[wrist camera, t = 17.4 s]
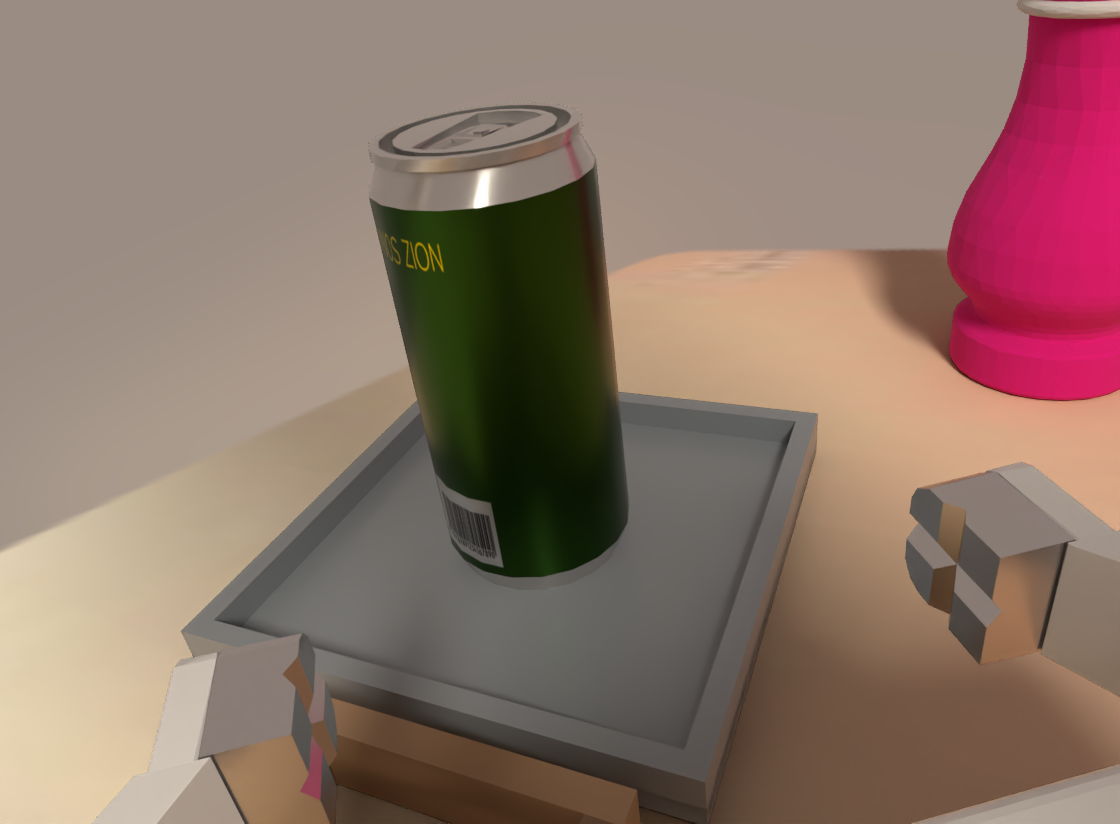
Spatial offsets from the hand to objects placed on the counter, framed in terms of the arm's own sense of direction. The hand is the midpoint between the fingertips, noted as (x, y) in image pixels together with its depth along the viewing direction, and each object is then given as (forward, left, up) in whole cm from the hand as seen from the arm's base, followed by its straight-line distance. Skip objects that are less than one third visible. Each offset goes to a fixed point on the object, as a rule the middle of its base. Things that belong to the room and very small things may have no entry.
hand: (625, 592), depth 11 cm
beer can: (-7, +10, -9) cm, 15 cm away
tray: (-7, +10, -9) cm, 15 cm away
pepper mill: (+7, +25, -9) cm, 27 cm away
